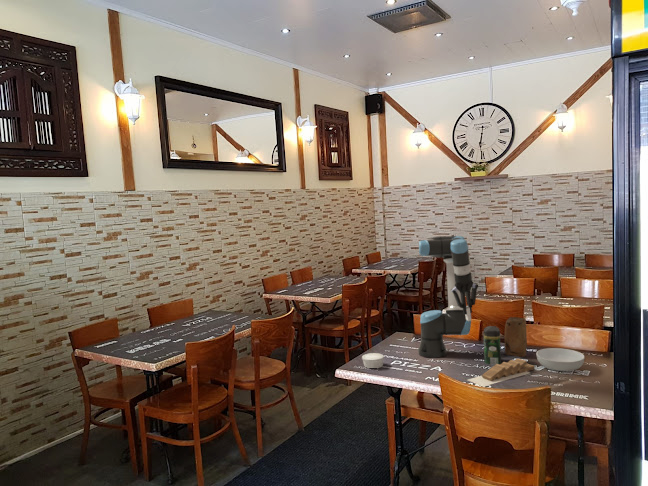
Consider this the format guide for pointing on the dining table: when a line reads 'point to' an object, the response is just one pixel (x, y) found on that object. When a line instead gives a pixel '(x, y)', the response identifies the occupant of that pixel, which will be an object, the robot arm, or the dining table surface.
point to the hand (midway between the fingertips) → (468, 319)
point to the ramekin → (373, 360)
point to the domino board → (484, 382)
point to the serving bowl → (560, 359)
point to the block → (515, 337)
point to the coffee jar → (492, 345)
